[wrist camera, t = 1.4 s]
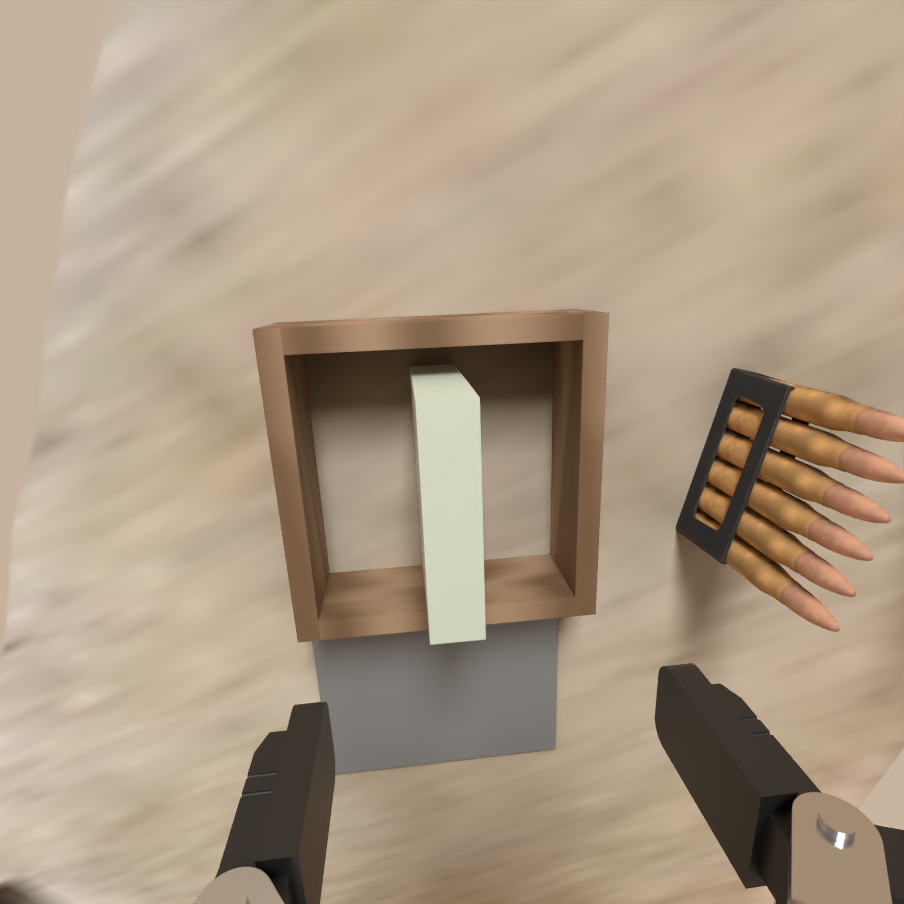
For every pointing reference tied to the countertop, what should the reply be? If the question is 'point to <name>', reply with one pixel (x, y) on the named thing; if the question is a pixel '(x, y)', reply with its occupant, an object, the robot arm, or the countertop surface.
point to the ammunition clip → (785, 486)
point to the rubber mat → (439, 695)
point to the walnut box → (402, 589)
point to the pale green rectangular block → (449, 501)
